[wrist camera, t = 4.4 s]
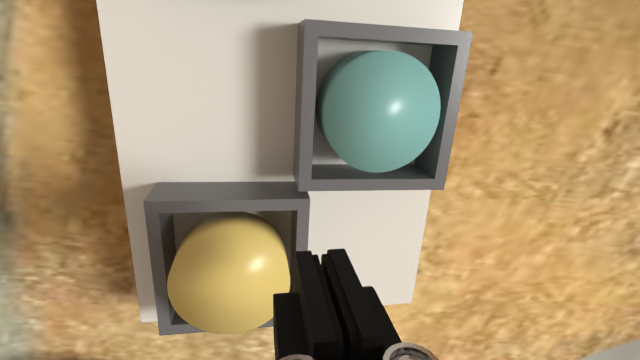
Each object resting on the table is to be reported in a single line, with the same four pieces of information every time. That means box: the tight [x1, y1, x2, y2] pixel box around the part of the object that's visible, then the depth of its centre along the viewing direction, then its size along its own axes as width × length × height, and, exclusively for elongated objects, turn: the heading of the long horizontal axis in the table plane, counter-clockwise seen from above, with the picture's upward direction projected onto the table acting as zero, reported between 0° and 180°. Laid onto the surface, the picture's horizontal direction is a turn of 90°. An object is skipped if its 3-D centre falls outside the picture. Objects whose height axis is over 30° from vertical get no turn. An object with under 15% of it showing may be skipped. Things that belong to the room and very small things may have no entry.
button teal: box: [316, 50, 441, 173], centre depth 17 cm, size 6×6×2 cm
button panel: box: [96, 0, 473, 335], centre depth 18 cm, size 26×17×6 cm, turn 177°
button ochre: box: [167, 211, 290, 334], centre depth 18 cm, size 6×6×2 cm
